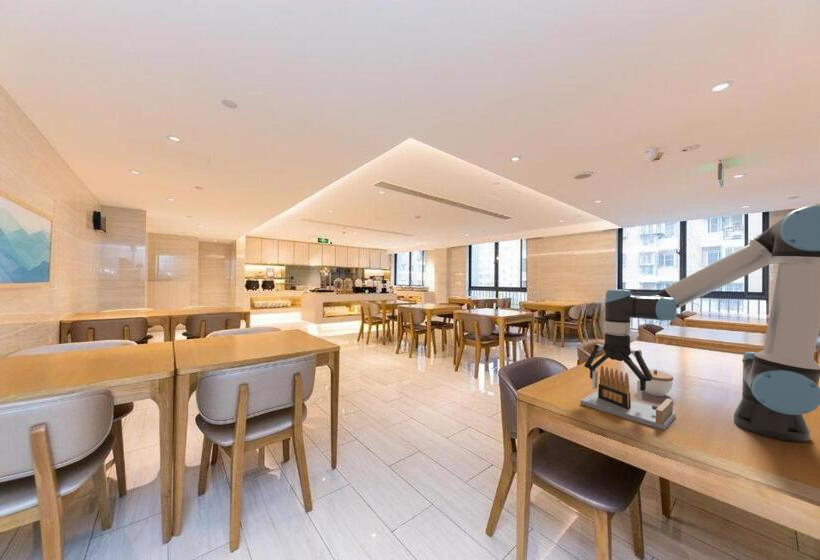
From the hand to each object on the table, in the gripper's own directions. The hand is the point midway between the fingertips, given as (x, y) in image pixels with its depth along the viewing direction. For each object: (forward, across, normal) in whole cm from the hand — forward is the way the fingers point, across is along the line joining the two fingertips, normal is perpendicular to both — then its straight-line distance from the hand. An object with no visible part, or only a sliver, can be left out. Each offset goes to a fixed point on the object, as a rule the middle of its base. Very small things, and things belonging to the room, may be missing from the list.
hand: (616, 393), depth 110 cm
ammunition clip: (+4, +1, 0) cm, 4 cm away
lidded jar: (+5, -5, -28) cm, 29 cm away
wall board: (+5, -3, 0) cm, 6 cm away
